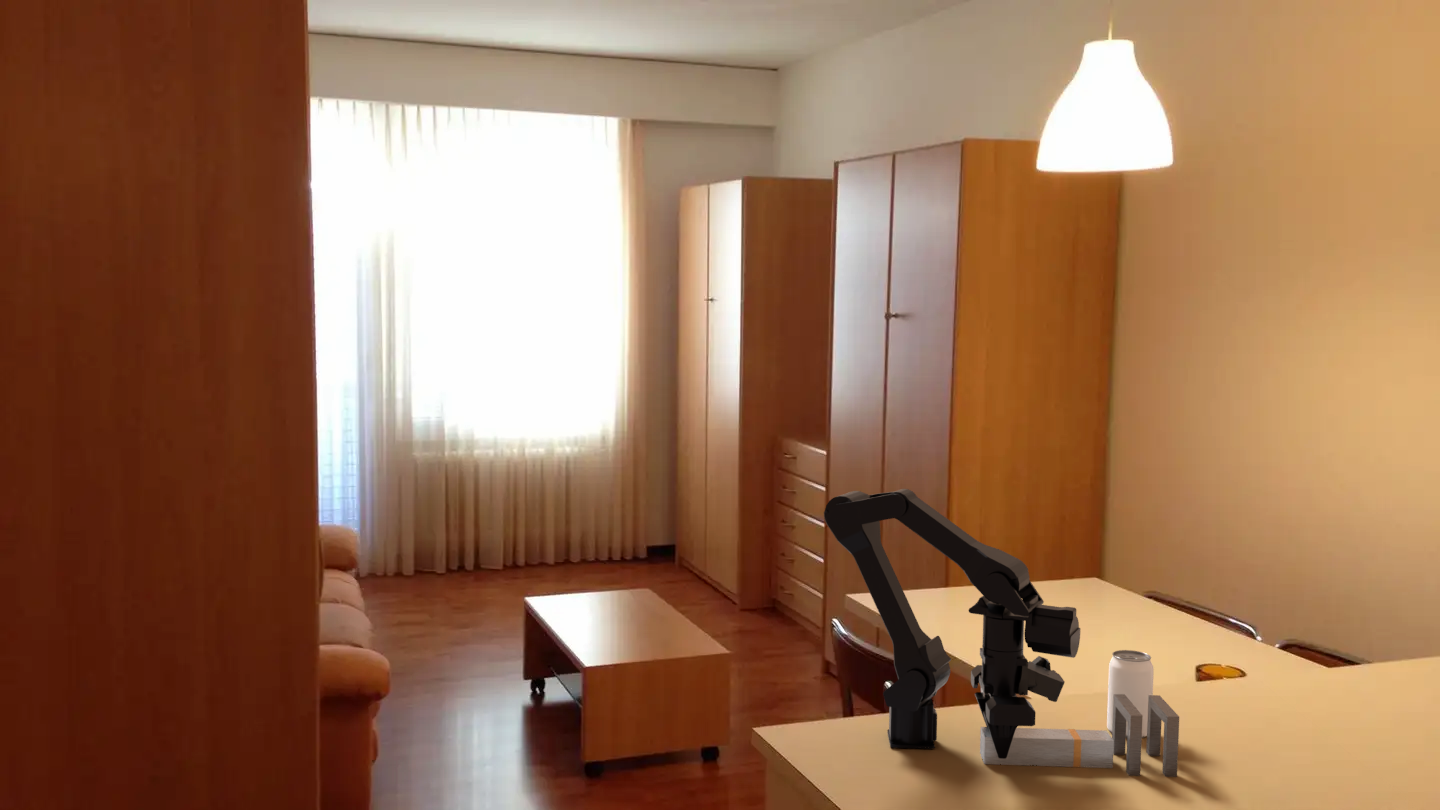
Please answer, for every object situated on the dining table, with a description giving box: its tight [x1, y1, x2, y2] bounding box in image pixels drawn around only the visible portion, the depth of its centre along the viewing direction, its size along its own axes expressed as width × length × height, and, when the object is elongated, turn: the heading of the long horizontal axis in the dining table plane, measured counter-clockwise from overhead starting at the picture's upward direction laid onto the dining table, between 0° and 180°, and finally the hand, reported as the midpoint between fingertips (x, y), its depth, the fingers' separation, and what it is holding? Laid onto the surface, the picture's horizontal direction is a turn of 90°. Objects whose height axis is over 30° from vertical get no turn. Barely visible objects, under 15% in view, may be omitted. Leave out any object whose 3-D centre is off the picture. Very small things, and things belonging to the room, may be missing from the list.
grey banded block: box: [979, 726, 1114, 769], centre depth 170 cm, size 18×4×4 cm, turn 86°
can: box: [1106, 649, 1155, 739], centre depth 182 cm, size 6×6×12 cm
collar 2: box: [1145, 694, 1180, 778], centre depth 169 cm, size 2×9×9 cm, turn 176°
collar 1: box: [1111, 694, 1143, 777], centre depth 169 cm, size 2×9×9 cm, turn 176°
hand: (999, 752), depth 171 cm, fingers closed on grey banded block, 4 cm apart
